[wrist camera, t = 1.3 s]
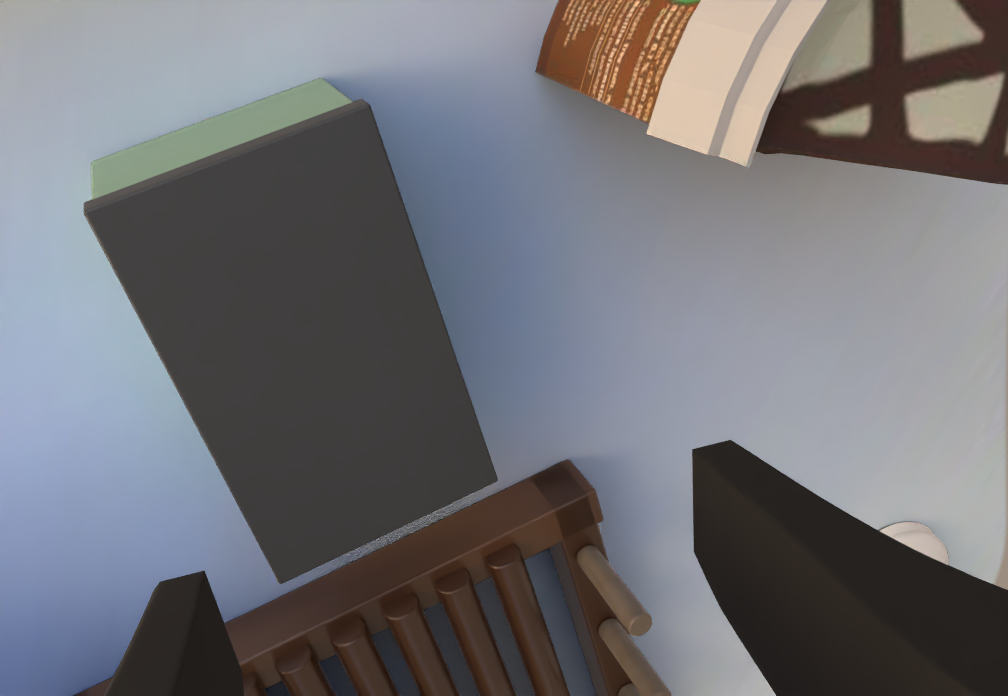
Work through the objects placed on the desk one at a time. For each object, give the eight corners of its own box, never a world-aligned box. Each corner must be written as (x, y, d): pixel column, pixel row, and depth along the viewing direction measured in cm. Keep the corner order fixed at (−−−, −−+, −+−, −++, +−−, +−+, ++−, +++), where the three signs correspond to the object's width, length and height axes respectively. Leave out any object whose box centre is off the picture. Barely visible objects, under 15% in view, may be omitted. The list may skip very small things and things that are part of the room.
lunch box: (253, 491, 25) (280, 585, 21) (82, 158, 20) (82, 211, 17) (444, 405, 26) (499, 481, 22) (325, 70, 21) (370, 103, 18)
